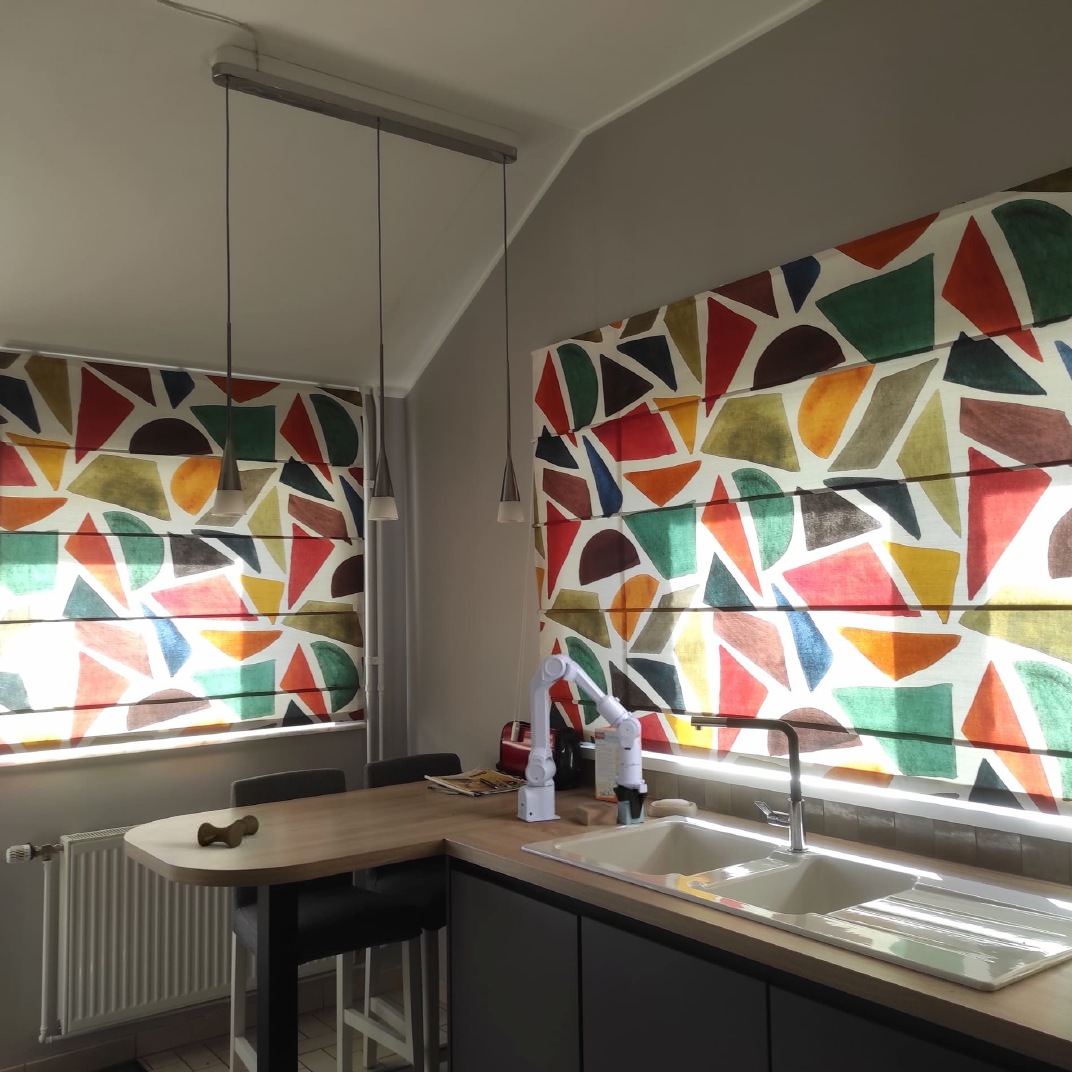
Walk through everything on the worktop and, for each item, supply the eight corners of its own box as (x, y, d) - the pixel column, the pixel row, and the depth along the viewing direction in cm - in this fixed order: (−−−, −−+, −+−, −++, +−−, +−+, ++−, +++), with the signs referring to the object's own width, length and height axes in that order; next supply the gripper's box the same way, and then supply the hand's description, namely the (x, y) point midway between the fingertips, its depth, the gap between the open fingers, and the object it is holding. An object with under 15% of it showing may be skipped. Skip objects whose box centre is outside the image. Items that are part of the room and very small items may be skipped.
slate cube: (626, 824, 255) (626, 805, 256) (617, 821, 260) (617, 801, 260) (643, 822, 257) (643, 803, 258) (634, 819, 262) (634, 800, 262)
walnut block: (587, 827, 254) (587, 811, 254) (576, 821, 262) (576, 806, 262) (616, 824, 257) (616, 809, 257) (604, 819, 264) (604, 803, 264)
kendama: (268, 837, 248) (222, 853, 229) (234, 836, 251) (186, 852, 232) (268, 812, 249) (222, 827, 230) (234, 812, 251) (186, 826, 232)
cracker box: (643, 803, 284) (642, 729, 286) (629, 806, 280) (627, 731, 282) (609, 796, 295) (608, 725, 297) (594, 799, 291) (593, 727, 293)
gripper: (656, 766, 255) (657, 820, 254) (629, 759, 268) (630, 810, 267) (632, 768, 252) (633, 822, 251) (606, 760, 265) (607, 812, 264)
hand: (630, 816), depth 259 cm, fingers closed on slate cube, 5 cm apart
